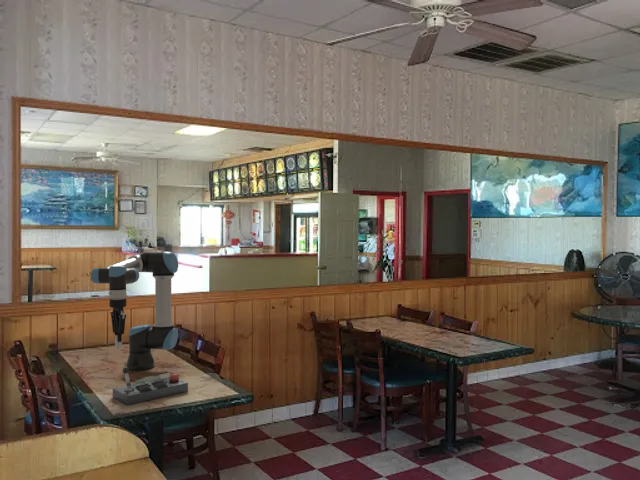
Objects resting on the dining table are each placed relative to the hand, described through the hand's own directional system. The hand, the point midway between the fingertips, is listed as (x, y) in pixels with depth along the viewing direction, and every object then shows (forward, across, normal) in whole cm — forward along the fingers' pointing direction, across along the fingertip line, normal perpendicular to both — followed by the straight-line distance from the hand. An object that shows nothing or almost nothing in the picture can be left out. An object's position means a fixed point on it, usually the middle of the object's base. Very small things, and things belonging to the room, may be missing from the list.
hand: (118, 348), depth 263 cm
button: (+17, +11, +23) cm, 31 cm away
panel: (+22, +11, +11) cm, 26 cm away
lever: (+17, +11, 0) cm, 20 cm away
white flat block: (+15, +11, +8) cm, 20 cm away
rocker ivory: (+15, +11, +16) cm, 24 cm away
